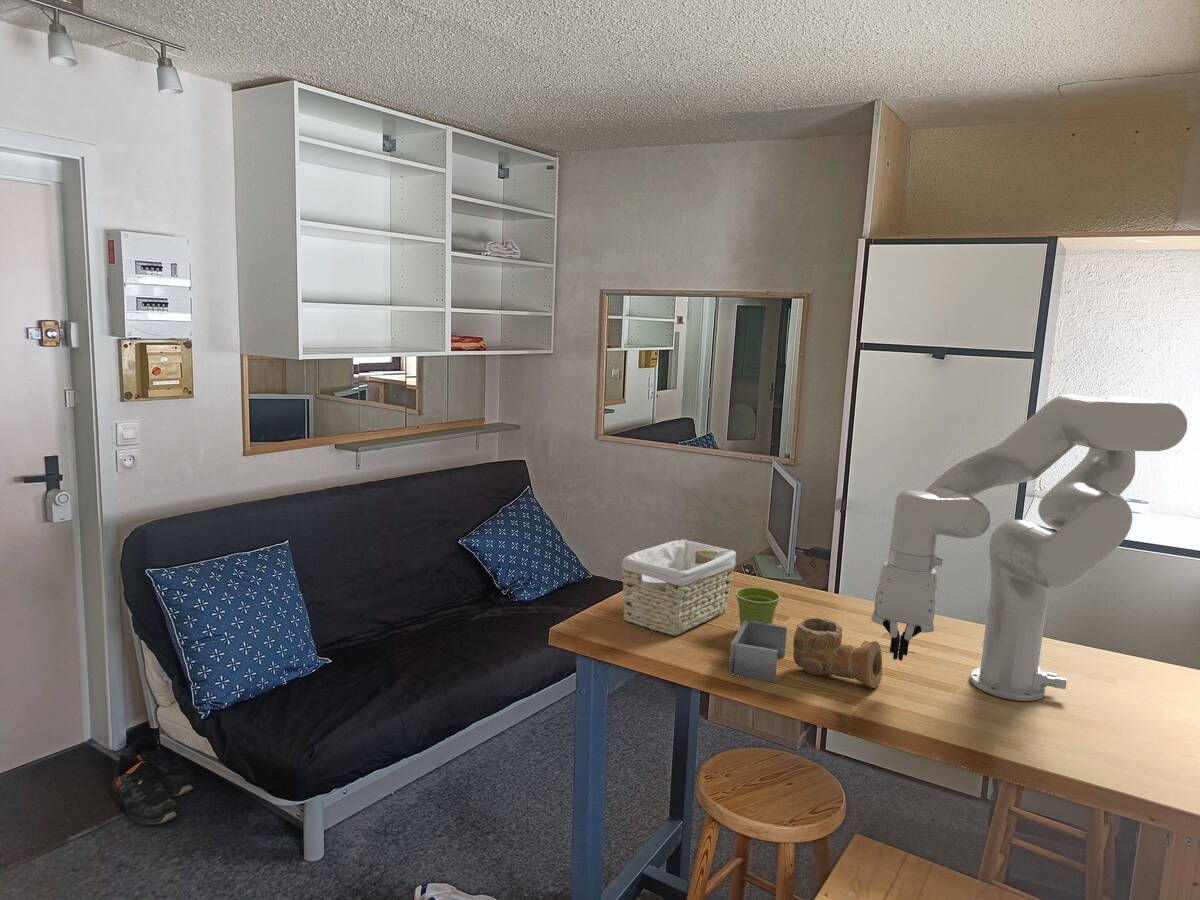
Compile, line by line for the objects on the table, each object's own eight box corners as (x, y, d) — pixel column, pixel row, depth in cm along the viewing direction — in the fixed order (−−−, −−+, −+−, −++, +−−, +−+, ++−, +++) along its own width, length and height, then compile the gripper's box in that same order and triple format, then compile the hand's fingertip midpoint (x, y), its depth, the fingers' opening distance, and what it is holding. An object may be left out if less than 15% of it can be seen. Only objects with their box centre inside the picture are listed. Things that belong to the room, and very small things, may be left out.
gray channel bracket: (784, 654, 166) (787, 626, 165) (774, 682, 153) (776, 652, 152) (742, 647, 169) (744, 619, 168) (728, 674, 156) (730, 644, 155)
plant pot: (754, 645, 170) (757, 604, 169) (723, 629, 178) (726, 591, 176) (786, 636, 175) (790, 597, 174) (755, 622, 183) (758, 584, 182)
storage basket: (676, 595, 199) (679, 536, 196) (735, 612, 189) (740, 550, 186) (615, 622, 180) (618, 556, 178) (678, 642, 170) (682, 573, 168)
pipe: (875, 698, 148) (880, 645, 147) (785, 677, 155) (789, 626, 154) (882, 679, 156) (887, 629, 155) (797, 660, 163) (801, 612, 162)
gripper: (954, 561, 149) (940, 658, 152) (867, 548, 154) (856, 642, 157) (957, 572, 142) (942, 673, 145) (866, 558, 147) (853, 656, 150)
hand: (897, 657), depth 151 cm, fingers closed
